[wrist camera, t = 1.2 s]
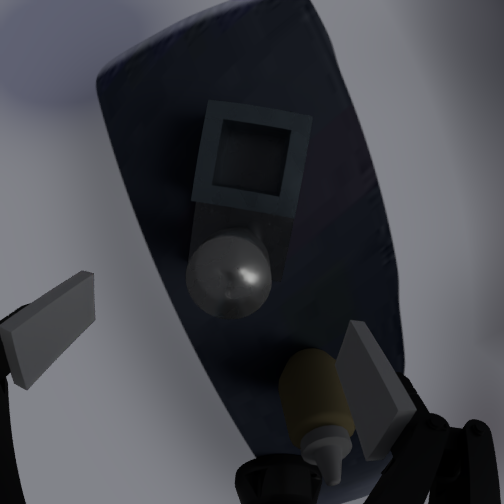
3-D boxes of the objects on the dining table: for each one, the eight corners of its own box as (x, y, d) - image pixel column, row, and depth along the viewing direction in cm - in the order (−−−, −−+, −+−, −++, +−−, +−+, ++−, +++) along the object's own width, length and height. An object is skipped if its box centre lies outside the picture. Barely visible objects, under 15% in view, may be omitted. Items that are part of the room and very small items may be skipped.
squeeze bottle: (281, 394, 37) (289, 508, 20) (272, 345, 35) (278, 466, 18) (340, 383, 37) (375, 491, 19) (338, 333, 35) (385, 444, 17)
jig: (280, 278, 33) (285, 304, 26) (190, 262, 33) (172, 284, 26) (308, 131, 29) (321, 118, 22) (212, 115, 29) (199, 98, 22)
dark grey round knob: (262, 278, 32) (262, 325, 22) (206, 268, 32) (182, 310, 22) (272, 222, 31) (279, 246, 20) (214, 212, 30) (191, 230, 20)
